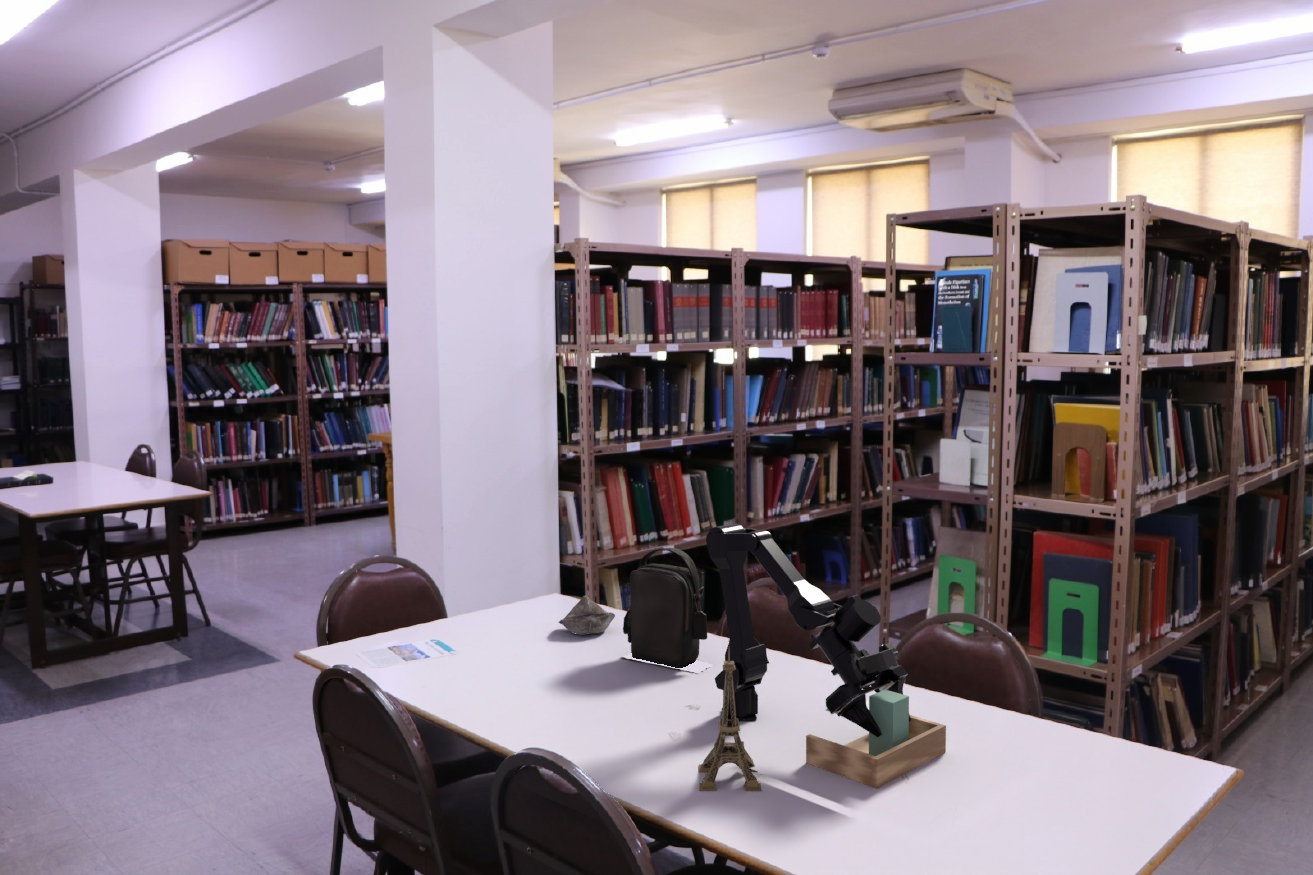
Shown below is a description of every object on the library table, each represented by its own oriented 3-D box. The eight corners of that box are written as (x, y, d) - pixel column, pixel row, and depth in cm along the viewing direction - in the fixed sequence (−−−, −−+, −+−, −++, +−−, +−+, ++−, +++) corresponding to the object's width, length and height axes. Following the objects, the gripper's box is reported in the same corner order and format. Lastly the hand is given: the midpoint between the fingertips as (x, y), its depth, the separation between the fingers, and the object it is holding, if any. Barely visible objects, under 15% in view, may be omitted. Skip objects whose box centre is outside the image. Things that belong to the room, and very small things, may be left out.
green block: (868, 761, 180) (869, 696, 179) (884, 753, 183) (885, 689, 182) (892, 769, 176) (893, 703, 175) (908, 761, 179) (908, 696, 178)
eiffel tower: (698, 766, 181) (698, 630, 179) (757, 766, 181) (757, 631, 178) (699, 791, 170) (698, 648, 168) (761, 791, 170) (761, 648, 168)
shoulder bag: (717, 664, 240) (716, 549, 238) (697, 674, 233) (697, 555, 230) (640, 649, 253) (638, 540, 250) (619, 658, 245) (617, 546, 243)
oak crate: (806, 768, 179) (806, 735, 179) (876, 735, 194) (876, 705, 194) (876, 794, 168) (877, 759, 168) (945, 757, 183) (946, 725, 183)
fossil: (552, 638, 264) (551, 601, 263) (565, 624, 278) (565, 588, 277) (608, 640, 261) (608, 602, 260) (619, 625, 275) (619, 590, 274)
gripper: (839, 641, 174) (893, 719, 167) (899, 621, 187) (951, 693, 180) (803, 675, 180) (853, 752, 173) (863, 654, 193) (912, 724, 186)
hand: (894, 729), depth 178 cm, fingers open, 9 cm apart
